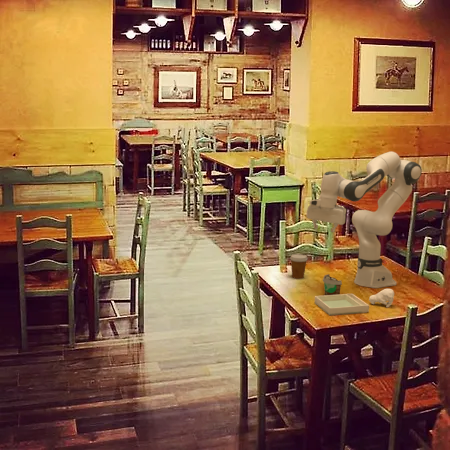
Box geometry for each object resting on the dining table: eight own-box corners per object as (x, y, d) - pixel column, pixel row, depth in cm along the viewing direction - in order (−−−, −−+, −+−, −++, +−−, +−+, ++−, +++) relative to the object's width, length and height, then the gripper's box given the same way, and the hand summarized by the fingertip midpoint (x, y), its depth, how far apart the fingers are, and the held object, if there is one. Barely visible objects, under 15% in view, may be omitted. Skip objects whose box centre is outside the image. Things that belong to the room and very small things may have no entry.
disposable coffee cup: (310, 278, 381) (311, 257, 378) (296, 280, 376) (297, 259, 373) (299, 273, 389) (299, 253, 386) (285, 276, 383) (286, 255, 381)
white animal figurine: (393, 291, 333) (368, 290, 336) (394, 308, 335) (368, 307, 338) (394, 287, 339) (369, 286, 342) (394, 304, 341) (369, 303, 344)
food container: (317, 293, 354) (318, 275, 352) (327, 292, 357) (328, 273, 355) (330, 301, 343) (331, 281, 341) (340, 299, 346) (342, 280, 344)
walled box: (351, 300, 345) (352, 293, 345) (368, 312, 328) (369, 305, 328) (314, 303, 340) (314, 296, 339) (329, 315, 323) (330, 308, 322)
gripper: (349, 206, 348) (345, 233, 350) (312, 199, 358) (308, 226, 360) (344, 207, 342) (340, 234, 345) (306, 200, 353) (303, 227, 355)
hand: (324, 230), depth 353 cm, fingers open, 8 cm apart
